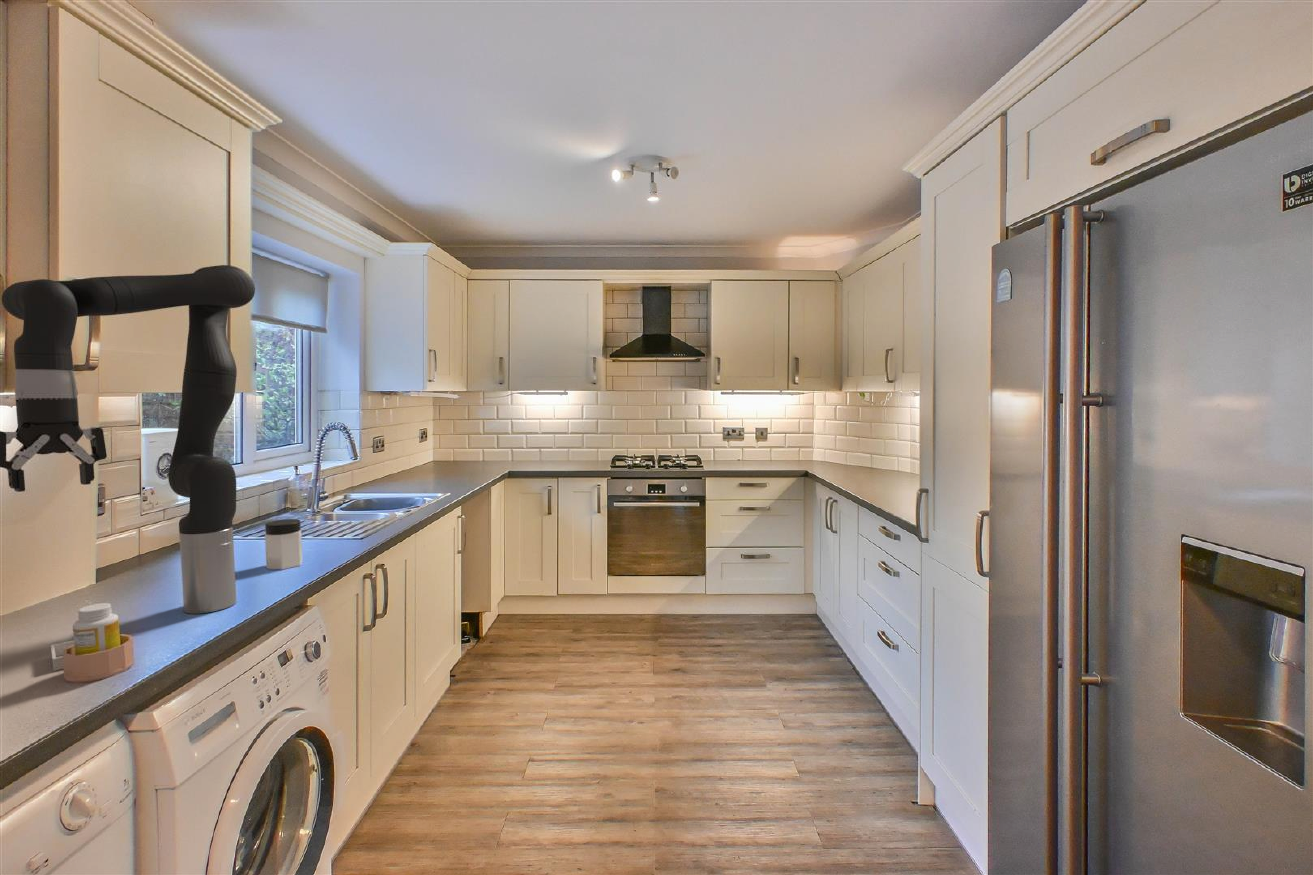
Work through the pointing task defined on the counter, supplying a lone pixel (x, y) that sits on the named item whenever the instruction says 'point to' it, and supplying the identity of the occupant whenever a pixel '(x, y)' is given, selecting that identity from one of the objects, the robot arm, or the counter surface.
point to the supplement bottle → (96, 629)
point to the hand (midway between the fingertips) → (53, 487)
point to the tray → (57, 651)
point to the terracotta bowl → (98, 662)
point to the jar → (283, 544)
